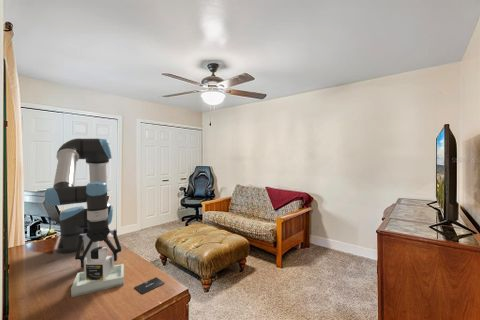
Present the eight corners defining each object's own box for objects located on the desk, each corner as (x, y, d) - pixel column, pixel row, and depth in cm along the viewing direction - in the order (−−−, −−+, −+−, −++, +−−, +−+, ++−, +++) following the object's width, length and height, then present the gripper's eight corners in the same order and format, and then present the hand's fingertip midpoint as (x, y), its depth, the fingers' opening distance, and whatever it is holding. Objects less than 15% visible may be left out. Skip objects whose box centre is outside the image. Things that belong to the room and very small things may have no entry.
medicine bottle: (86, 280, 96) (84, 252, 96) (97, 271, 103) (96, 245, 103) (103, 280, 96) (102, 252, 95) (113, 271, 103) (112, 245, 103)
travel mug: (93, 269, 112) (91, 227, 111) (81, 267, 113) (79, 227, 112) (103, 262, 118) (101, 223, 117) (92, 261, 119) (90, 223, 118)
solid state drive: (133, 288, 96) (133, 287, 95) (156, 278, 103) (156, 277, 103) (142, 295, 91) (142, 293, 91) (165, 284, 99) (165, 282, 98)
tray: (77, 280, 102) (77, 272, 101) (124, 270, 109) (123, 263, 109) (71, 297, 90) (71, 288, 90) (123, 285, 98) (123, 276, 98)
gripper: (63, 225, 91) (66, 282, 91) (126, 217, 100) (128, 269, 101) (68, 220, 97) (70, 273, 98) (126, 213, 107) (128, 261, 108)
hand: (99, 271), depth 100 cm, fingers closed on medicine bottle, 9 cm apart
